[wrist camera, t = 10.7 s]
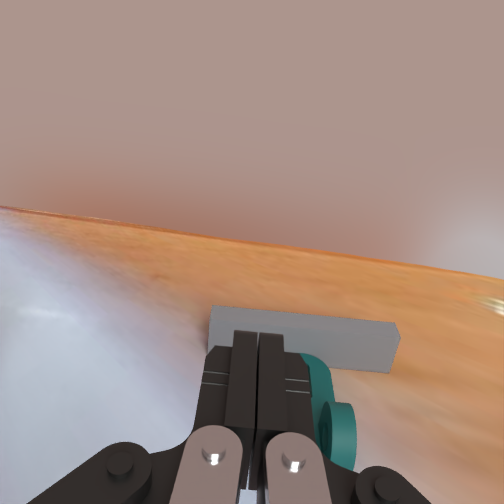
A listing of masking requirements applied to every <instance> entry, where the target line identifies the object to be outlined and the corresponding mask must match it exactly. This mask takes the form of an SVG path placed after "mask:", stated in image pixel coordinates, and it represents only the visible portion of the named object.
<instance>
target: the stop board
mask: <svg viewBox="0 0 504 504" xmlns="http://www.w3.org/2000/svg"><path fill="white" fill-rule="evenodd" d="M234 330H242V331H252V332H258V338H259V332H264V333H274V334H283V336H284V352H293V353H305V354H309V355H312V356H315V357H317V358H318V359H320V360H321V361H323V362H324V363H325V364H326V365H327V367H329V368H340V369H350V370H361V371H371V372H382V373H389V372H390V369H391V366H392V363H393V360H394V357H395V354H396V351H397V348H398V345H399V342H400V338H401V337H400V334H399V332H398V329H397V327H396V324H395V323H391V322H381V321H371V320H361V319H350V318H340V317H330V316H319V315H309V314H299V313H289V312H278V311H268V310H258V309H247V308H237V307H227V306H217V305H212V309H211V315H210V322H209V338H208V353H209V352H210V351H211V350H212V348H213V347H214V346H215V345H218V346H229V347H232V346H233V336H234ZM257 345H258V340H257ZM208 353H207V355H208Z"/></svg>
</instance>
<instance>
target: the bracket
mask: <svg viewBox="0 0 504 504" xmlns="http://www.w3.org/2000/svg"><path fill="white" fill-rule="evenodd" d="M300 355H301V357H302V358H303V360H304V361H305V363H306V364H307V366H308V375H309V385H310V395H311V404H312V414H313V423H314V433H315V439H316V443H317V445H318V447H319V449H320V450H321V452H322V453H323V454H324V455H325V456H326V457H327V458H328V459H329V460H331V461H332V462H334V463H335V464H337V465H339V466H341V467H344V468H346V469H349V470H351V471H353V468H354V464H355V458H356V447H357V431H356V420H355V415H354V411H353V408H352V406H351V404H349V403H340V402H335V398H334V392H333V385H332V379H331V373H330V370H329V368H328V367H327V365H326V364H325V363H324V362H323V361H321V360H320V359H318V358H317V357H315V356H312V355H309V354H305V353H300Z"/></svg>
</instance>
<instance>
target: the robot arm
mask: <svg viewBox="0 0 504 504" xmlns="http://www.w3.org/2000/svg"><path fill="white" fill-rule="evenodd" d="M257 340H258V345H257ZM248 470H249V486H248V490H257V504H431V503H430V502H429V501H428V500H427V499H426V498H425V497H424V496H423V495H422V494H421V493H420V492H419V491H418V490H417V489H416V488H415V487H413V486H412V485H411V484H410V483H409V482H408V481H407V480H406V479H405V478H404V477H403V476H402V475H400V474H399V473H397V472H396V471H394V470H392V469H389V468H386V467H382V466H372V467H368V468H366V469H364V470H363V471H362V472H360V474H359V473H356V472H354V471H351V470H349V469H346V468H344V467H341V466H339V465H337V464H335V463H334V462H332V461H331V460H329V459H328V458H327V457H326V456H325V455H324V454H323V453H322V452H321V450H320V449H319V447H318V445H317V443H316V439H315V433H314V423H313V414H312V404H311V395H310V385H309V375H308V366H307V364H306V363H305V361H304V360H303V358H302V357H301V355H300V353H293V352H284V336H283V334H274V333H264V332H259V338H258V332H252V331H242V330H234V336H233V346H232V347H229V346H218V345H215V346H214V347H213V348H212V350H211V351H210V352H209V353H208V355H207V356H206V359H205V365H204V371H203V376H202V382H201V387H200V393H199V399H198V405H197V410H196V416H195V422H194V426H193V430H192V432H191V434H190V435H189V437H188V438H187V439H186V440H185V441H184V442H183V443H181V444H180V445H178V446H176V447H174V448H172V449H169V450H166V451H161V452H156V453H151V454H149V453H148V452H147V451H146V450H145V449H144V448H143V447H142V446H140V445H138V444H135V443H131V442H119V443H115V444H112V445H109V446H107V447H106V448H104V449H102V450H101V451H100V452H98V453H97V454H95V455H94V456H93V457H91V458H90V459H88V460H87V461H86V462H84V463H83V464H81V465H80V466H79V467H77V468H76V469H74V470H73V471H72V472H70V473H69V474H67V475H66V476H65V477H63V478H62V479H60V480H59V481H58V482H56V483H55V484H53V485H52V486H51V487H49V488H48V489H46V490H45V491H44V492H42V493H41V494H40V495H38V496H37V497H35V498H34V499H33V500H31V501H30V502H28V503H27V504H239V496H240V489H245V490H246V484H247V477H248Z"/></svg>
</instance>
